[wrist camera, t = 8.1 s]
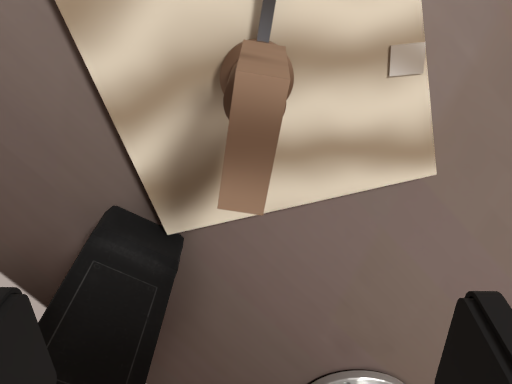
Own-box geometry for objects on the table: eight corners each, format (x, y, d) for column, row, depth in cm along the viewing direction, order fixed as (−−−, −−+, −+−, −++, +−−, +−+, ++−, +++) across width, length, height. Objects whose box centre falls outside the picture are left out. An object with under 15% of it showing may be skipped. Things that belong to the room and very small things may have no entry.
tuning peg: (283, 126, 28) (290, 219, 19) (215, 115, 28) (189, 204, 19) (325, -82, 22) (365, -94, 13) (240, -98, 22) (220, -122, 13)
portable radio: (73, 249, 36) (-220, 716, 14) (97, 195, 33) (-220, 673, 12) (160, 286, 38) (15, 748, 16) (189, 238, 35) (63, 718, 14)
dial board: (429, 164, 31) (437, 175, 30) (171, 223, 34) (166, 236, 33) (396, -183, 21) (405, -192, 20) (41, -55, 25) (27, -55, 23)
